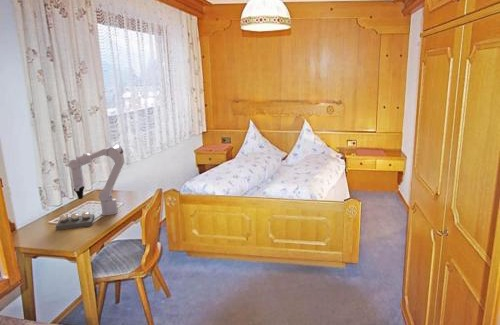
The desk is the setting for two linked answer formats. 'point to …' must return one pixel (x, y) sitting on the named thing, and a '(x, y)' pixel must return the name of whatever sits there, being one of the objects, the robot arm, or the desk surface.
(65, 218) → the knob
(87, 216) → the knob
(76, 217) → the knob mid
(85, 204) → the desk surface
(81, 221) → the knob panel
